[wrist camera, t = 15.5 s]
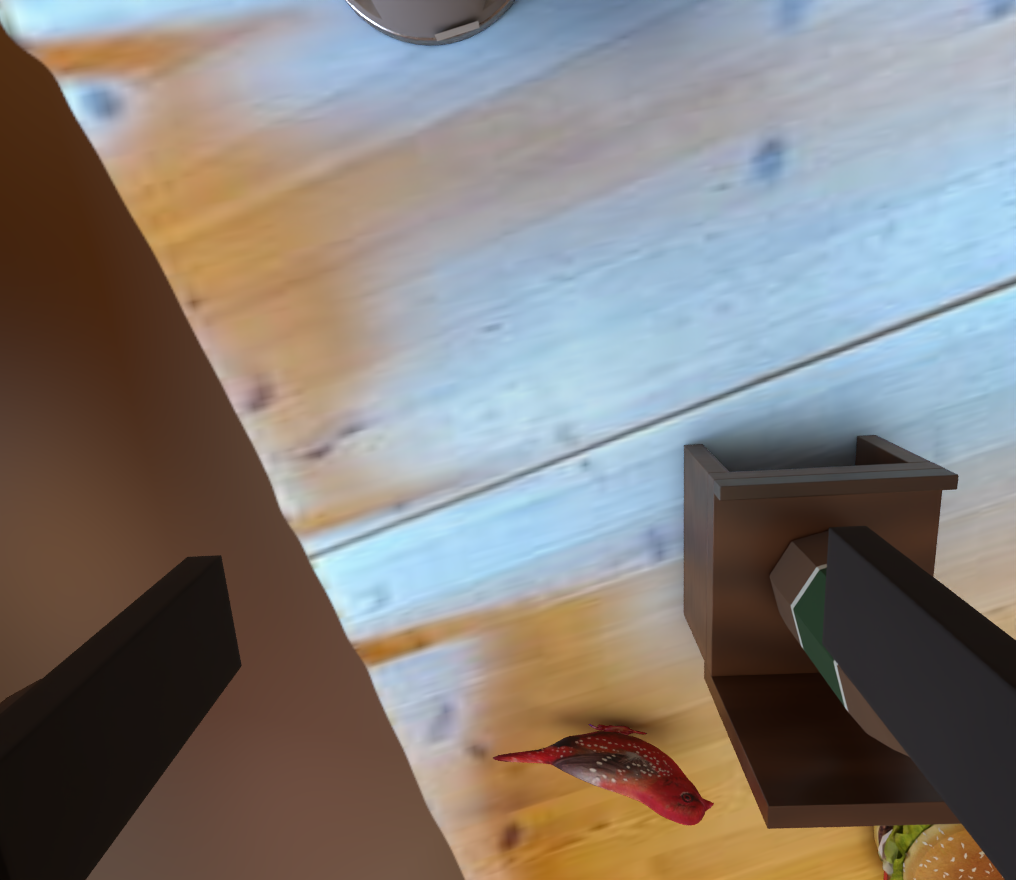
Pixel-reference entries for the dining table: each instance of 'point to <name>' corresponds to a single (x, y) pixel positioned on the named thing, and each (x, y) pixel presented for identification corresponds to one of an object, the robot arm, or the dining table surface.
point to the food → (932, 853)
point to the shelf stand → (773, 648)
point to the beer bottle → (819, 625)
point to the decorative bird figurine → (624, 770)
